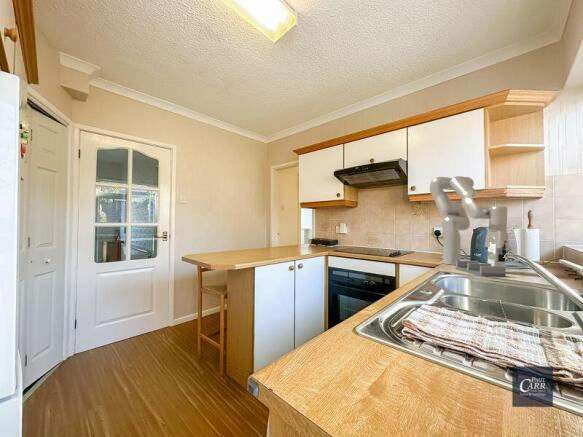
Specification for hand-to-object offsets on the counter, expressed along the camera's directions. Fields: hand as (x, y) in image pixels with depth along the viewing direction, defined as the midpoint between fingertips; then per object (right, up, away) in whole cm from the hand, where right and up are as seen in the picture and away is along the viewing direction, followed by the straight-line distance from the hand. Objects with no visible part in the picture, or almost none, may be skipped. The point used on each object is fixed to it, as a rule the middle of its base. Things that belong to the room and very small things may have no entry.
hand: (496, 260), depth 135 cm
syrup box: (0, -5, 0) cm, 5 cm away
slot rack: (-12, -6, -3) cm, 14 cm away
